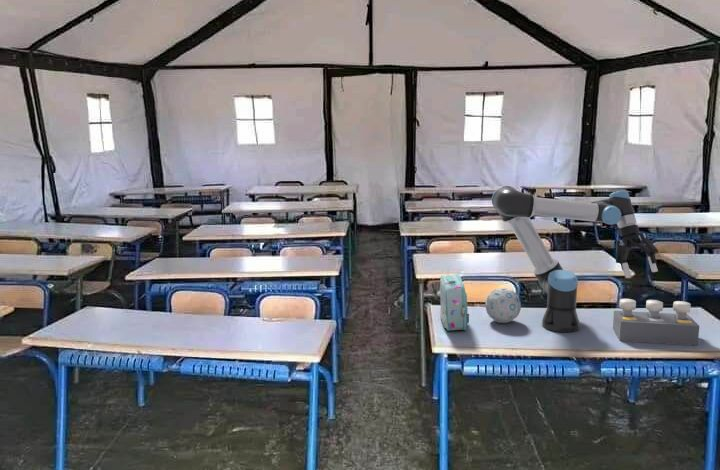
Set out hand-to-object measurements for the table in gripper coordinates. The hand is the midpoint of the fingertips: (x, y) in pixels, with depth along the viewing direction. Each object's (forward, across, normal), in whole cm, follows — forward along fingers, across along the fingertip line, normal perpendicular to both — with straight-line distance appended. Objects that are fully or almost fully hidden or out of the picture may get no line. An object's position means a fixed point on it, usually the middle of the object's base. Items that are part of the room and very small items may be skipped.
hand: (641, 274), depth 240 cm
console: (+25, -2, +6) cm, 26 cm away
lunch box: (+6, +43, +68) cm, 81 cm away
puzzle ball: (+9, +36, +48) cm, 61 cm away
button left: (+17, +2, +13) cm, 21 cm away
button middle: (+19, -3, +5) cm, 20 cm away
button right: (+22, -9, -3) cm, 24 cm away
